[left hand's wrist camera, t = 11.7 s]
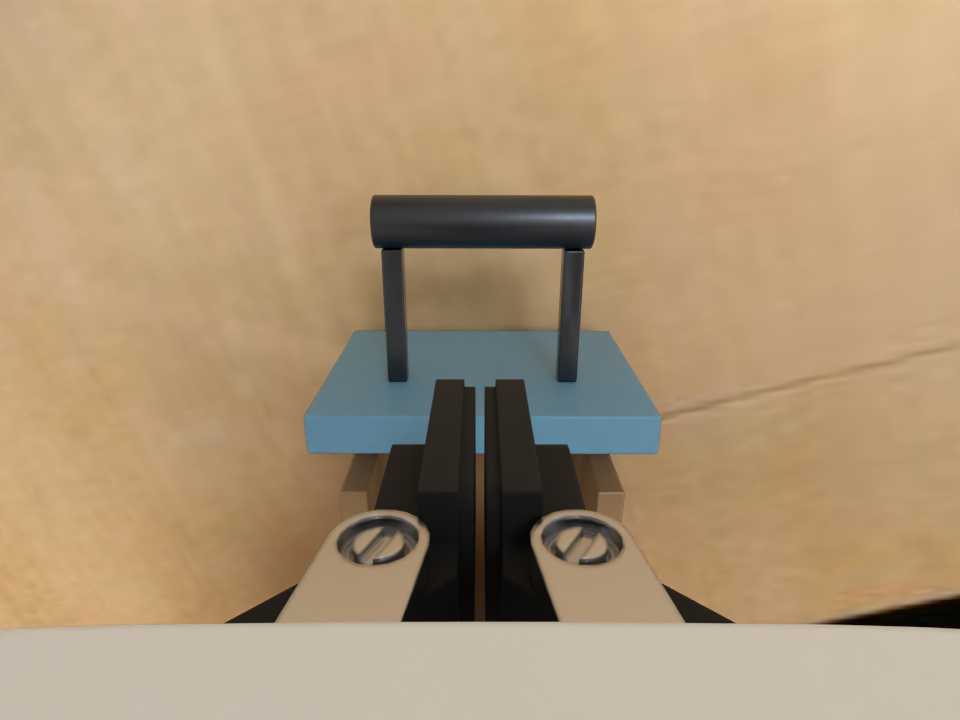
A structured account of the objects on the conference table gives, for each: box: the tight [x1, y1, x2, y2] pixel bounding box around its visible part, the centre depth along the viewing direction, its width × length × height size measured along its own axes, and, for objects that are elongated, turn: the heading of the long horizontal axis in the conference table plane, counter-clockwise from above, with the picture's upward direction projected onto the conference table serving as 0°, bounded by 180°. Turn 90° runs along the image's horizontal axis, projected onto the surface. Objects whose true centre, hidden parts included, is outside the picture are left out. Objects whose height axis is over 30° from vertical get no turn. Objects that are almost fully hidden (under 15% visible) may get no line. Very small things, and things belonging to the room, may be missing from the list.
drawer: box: [304, 195, 662, 622], centre depth 23 cm, size 22×10×8 cm, turn 0°
